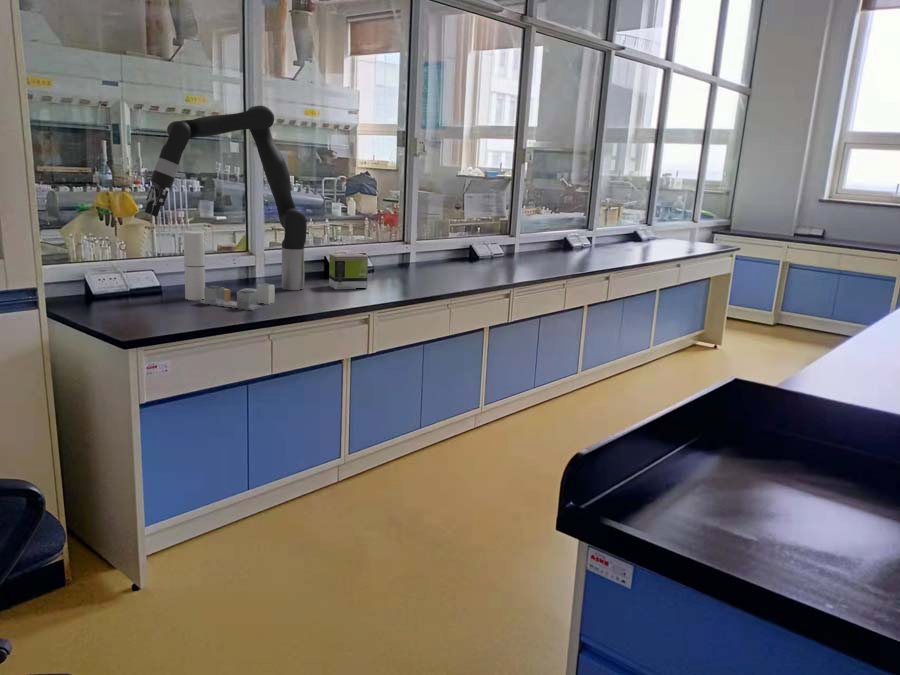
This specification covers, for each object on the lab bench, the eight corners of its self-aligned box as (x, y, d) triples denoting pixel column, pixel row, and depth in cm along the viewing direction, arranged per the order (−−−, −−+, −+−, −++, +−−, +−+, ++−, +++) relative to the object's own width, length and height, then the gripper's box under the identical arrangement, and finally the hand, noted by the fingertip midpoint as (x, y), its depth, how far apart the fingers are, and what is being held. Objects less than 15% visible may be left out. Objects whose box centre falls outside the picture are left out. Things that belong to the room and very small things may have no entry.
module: (263, 301, 264) (263, 282, 262) (274, 303, 262) (274, 284, 261) (257, 303, 260) (257, 284, 259) (268, 304, 259) (268, 285, 257)
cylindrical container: (186, 300, 256) (184, 233, 250) (184, 296, 262) (182, 230, 256) (206, 300, 259) (205, 233, 253) (203, 296, 265) (202, 231, 259)
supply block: (245, 296, 271) (245, 288, 271) (260, 298, 271) (260, 289, 270) (238, 299, 266) (238, 290, 265) (253, 300, 265) (253, 291, 264)
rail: (210, 300, 258) (210, 284, 257) (261, 308, 252) (261, 291, 250) (200, 303, 253) (200, 286, 251) (251, 310, 246) (251, 293, 245)
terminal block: (223, 298, 265) (223, 288, 264) (230, 299, 263) (230, 289, 262) (217, 299, 262) (216, 288, 261) (223, 300, 260) (223, 290, 259)
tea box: (361, 285, 312) (362, 253, 309) (367, 289, 303) (368, 256, 300) (328, 285, 306) (329, 252, 303) (333, 289, 297) (334, 255, 294)
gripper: (180, 178, 252) (166, 220, 252) (168, 175, 263) (155, 215, 263) (160, 170, 247) (145, 213, 247) (149, 168, 258) (135, 209, 258)
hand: (150, 214), depth 255 cm, fingers open, 8 cm apart
